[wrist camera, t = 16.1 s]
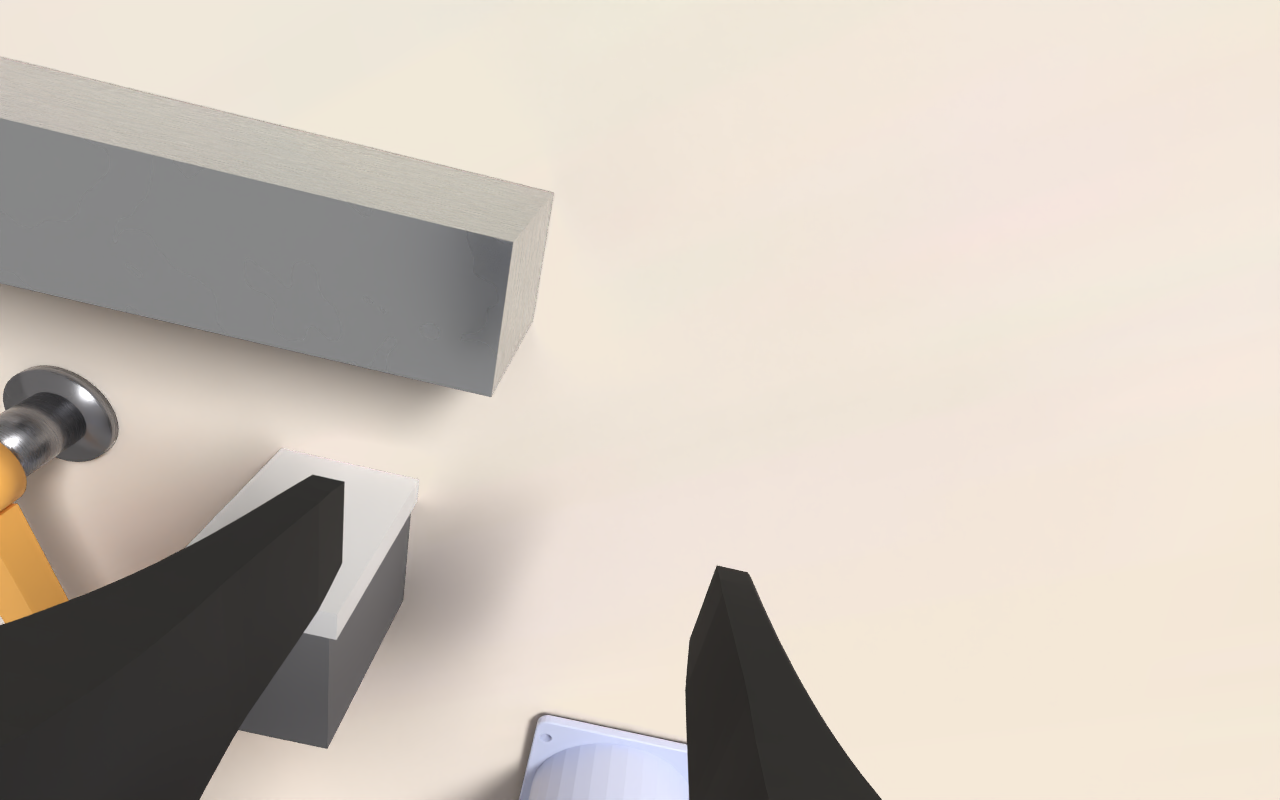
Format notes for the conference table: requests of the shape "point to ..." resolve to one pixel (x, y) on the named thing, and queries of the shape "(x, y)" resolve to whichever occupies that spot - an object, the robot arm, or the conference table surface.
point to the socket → (264, 231)
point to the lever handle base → (55, 418)
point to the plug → (333, 595)
